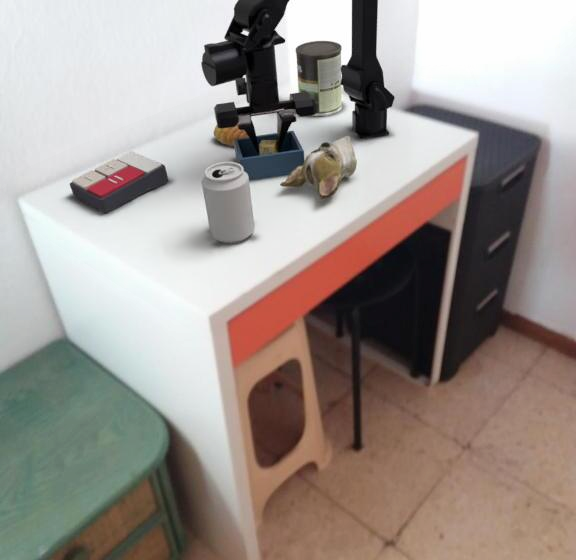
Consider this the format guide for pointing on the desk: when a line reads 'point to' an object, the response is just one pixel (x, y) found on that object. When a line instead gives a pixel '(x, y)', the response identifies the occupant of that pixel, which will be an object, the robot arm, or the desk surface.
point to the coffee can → (320, 74)
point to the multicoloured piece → (118, 181)
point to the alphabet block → (268, 147)
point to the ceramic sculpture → (325, 167)
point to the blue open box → (269, 156)
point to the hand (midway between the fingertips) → (268, 151)
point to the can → (228, 202)
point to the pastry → (229, 134)
